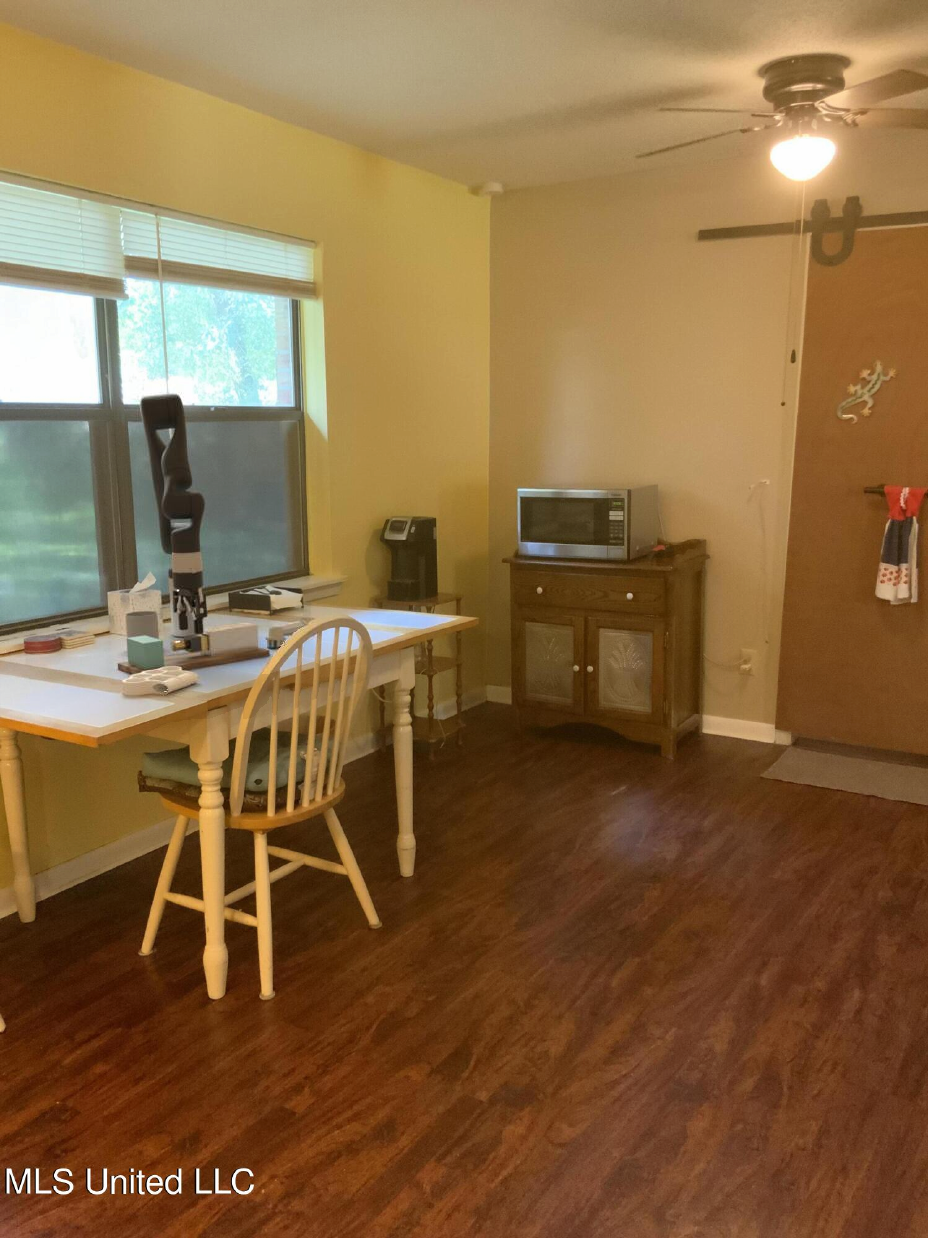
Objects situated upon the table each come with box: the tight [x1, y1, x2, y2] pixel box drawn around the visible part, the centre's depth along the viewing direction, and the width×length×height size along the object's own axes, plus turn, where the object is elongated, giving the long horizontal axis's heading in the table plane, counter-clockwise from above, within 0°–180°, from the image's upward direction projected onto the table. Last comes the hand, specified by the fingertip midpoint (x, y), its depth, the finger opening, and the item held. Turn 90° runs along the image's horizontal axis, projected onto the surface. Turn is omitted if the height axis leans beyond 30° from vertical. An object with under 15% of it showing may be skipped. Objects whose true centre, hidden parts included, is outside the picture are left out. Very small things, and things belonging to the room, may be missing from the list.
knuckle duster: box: [121, 666, 200, 696], centre depth 242 cm, size 3×18×15 cm
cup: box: [125, 610, 160, 640], centre depth 287 cm, size 8×8×10 cm
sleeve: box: [199, 621, 260, 656], centre depth 274 cm, size 6×14×6 cm, turn 131°
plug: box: [170, 634, 209, 653], centre depth 271 cm, size 4×22×4 cm, turn 131°
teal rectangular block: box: [126, 635, 165, 669], centre depth 259 cm, size 10×5×6 cm, turn 41°
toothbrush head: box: [265, 619, 309, 648], centre depth 296 cm, size 5×7×25 cm
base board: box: [117, 646, 271, 675], centre depth 269 cm, size 14×36×2 cm, turn 131°
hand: (191, 631), depth 267 cm, fingers open, 8 cm apart
